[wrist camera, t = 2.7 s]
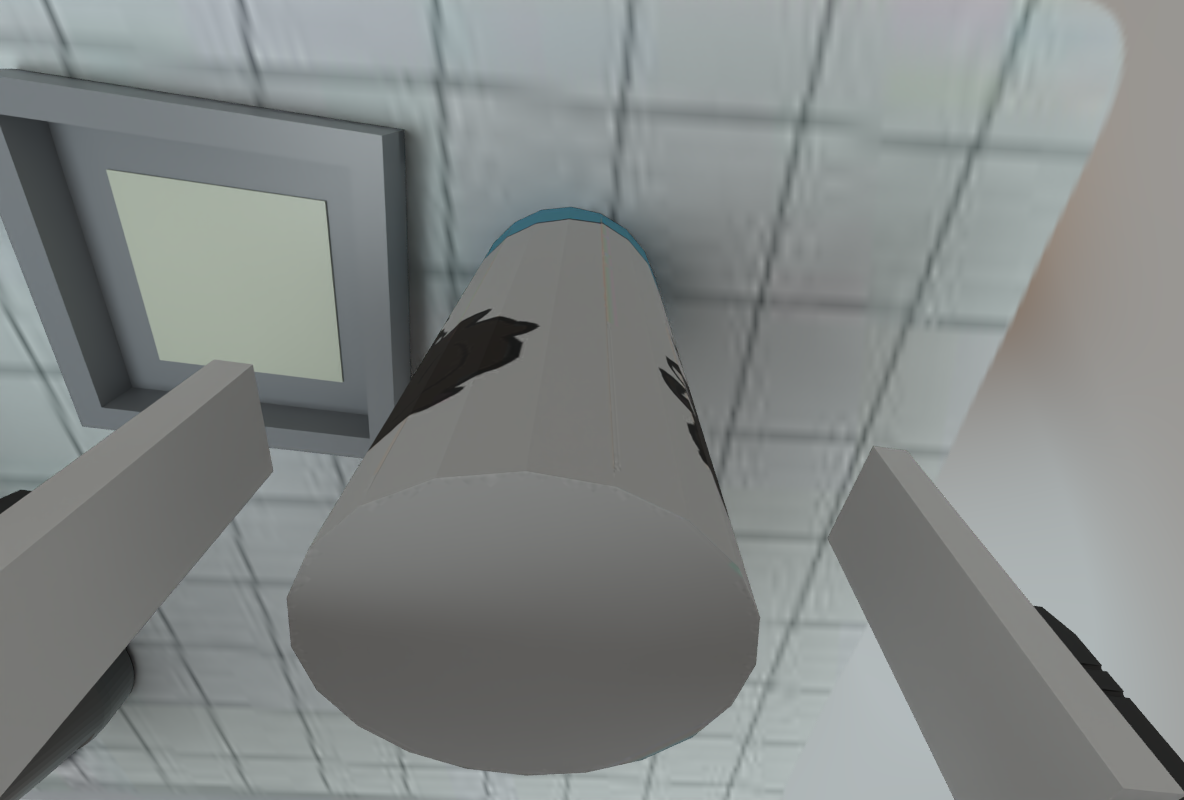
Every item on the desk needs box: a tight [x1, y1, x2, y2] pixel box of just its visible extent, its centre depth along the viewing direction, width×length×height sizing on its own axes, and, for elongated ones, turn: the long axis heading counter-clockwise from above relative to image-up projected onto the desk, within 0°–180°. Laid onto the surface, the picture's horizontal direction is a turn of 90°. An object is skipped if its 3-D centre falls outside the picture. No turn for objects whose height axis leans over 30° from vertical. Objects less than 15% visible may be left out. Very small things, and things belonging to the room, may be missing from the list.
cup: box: [287, 207, 760, 775], centre depth 14 cm, size 7×7×15 cm
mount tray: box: [0, 69, 411, 458], centre depth 20 cm, size 12×12×2 cm
